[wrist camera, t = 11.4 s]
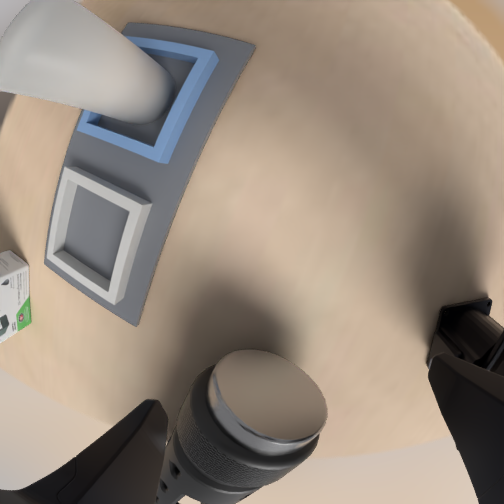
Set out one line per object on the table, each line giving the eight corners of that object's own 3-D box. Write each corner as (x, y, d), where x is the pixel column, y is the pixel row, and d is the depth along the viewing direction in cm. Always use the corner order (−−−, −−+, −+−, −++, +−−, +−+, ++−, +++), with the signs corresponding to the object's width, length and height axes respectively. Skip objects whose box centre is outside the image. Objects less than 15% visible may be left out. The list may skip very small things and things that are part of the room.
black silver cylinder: (154, 459, 28) (130, 512, 18) (223, 318, 21) (179, 415, 11) (216, 483, 28) (201, 538, 18) (328, 363, 21) (346, 464, 11)
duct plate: (130, 24, 15) (120, 15, 13) (255, 48, 15) (252, 35, 13) (47, 262, 22) (34, 268, 20) (138, 324, 22) (127, 335, 20)
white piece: (183, 69, 16) (78, -25, 4) (164, 128, 17) (24, 82, 5) (130, 67, 16) (17, 6, 4) (112, 122, 17) (-22, 95, 5)
